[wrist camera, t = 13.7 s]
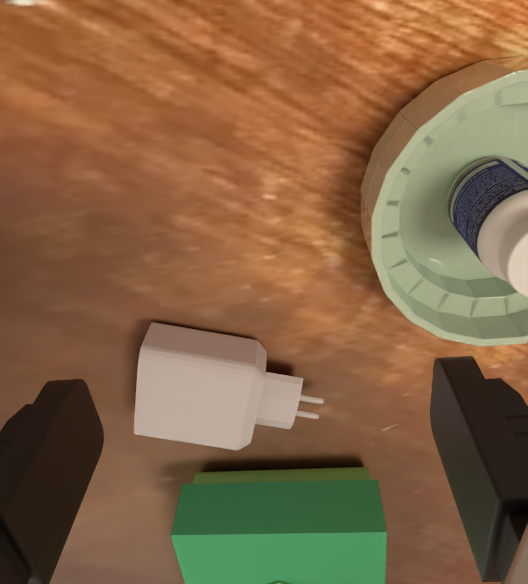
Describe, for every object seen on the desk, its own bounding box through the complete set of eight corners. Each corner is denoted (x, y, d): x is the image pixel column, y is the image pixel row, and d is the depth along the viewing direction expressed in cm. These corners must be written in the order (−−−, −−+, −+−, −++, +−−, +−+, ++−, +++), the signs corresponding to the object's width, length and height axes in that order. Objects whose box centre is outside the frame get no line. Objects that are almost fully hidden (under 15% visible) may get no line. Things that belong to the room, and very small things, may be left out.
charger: (307, 427, 46) (146, 400, 45) (332, 347, 42) (153, 317, 41) (309, 468, 42) (132, 439, 41) (336, 385, 37) (137, 351, 37)
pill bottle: (439, 236, 36) (486, 309, 27) (450, 155, 33) (507, 209, 24) (521, 234, 35) (597, 308, 27) (540, 152, 32) (631, 206, 24)
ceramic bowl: (409, 26, 30) (434, 30, 24) (676, 91, 31) (755, 109, 26) (330, 275, 38) (337, 317, 33) (542, 319, 39) (580, 367, 34)
